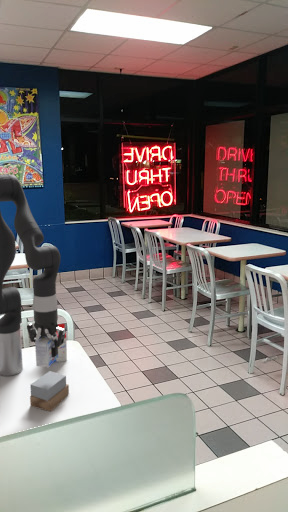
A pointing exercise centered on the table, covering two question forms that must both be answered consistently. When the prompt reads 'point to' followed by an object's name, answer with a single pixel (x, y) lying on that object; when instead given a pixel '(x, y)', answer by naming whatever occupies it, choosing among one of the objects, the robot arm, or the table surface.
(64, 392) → the walnut base slab
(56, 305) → the robot arm
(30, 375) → the table surface
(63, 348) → the ink box
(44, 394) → the slate top slab
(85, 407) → the table surface
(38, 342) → the medicine box
